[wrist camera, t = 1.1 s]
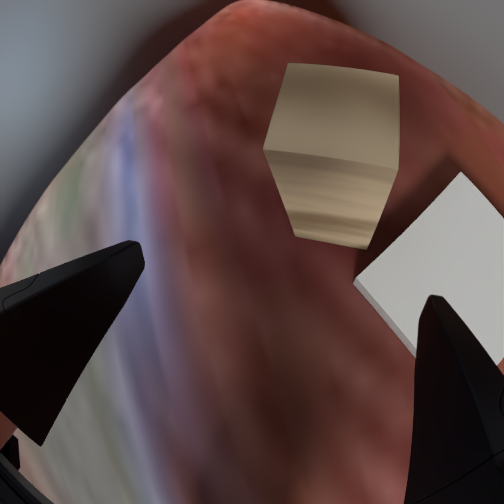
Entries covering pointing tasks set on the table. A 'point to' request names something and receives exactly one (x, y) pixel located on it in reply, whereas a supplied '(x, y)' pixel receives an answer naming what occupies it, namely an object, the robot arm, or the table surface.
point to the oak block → (335, 150)
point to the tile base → (444, 268)
